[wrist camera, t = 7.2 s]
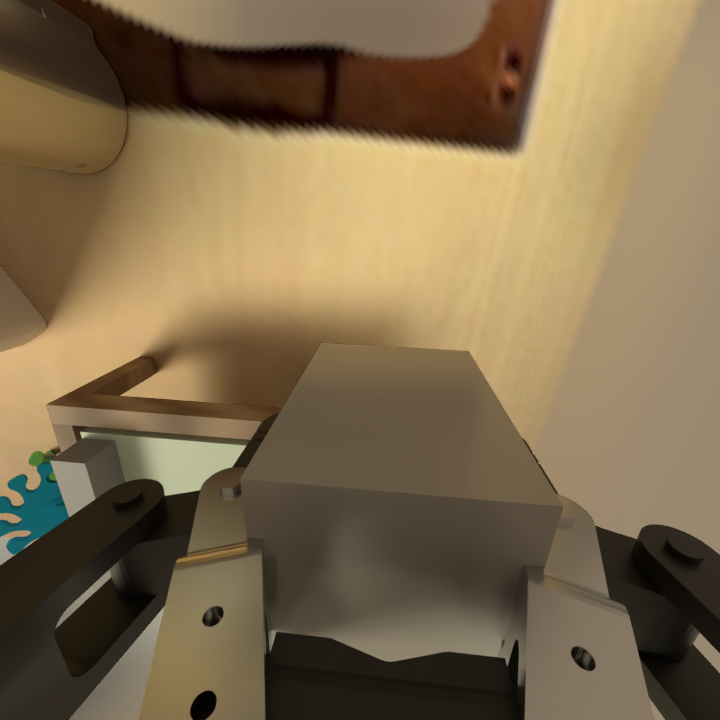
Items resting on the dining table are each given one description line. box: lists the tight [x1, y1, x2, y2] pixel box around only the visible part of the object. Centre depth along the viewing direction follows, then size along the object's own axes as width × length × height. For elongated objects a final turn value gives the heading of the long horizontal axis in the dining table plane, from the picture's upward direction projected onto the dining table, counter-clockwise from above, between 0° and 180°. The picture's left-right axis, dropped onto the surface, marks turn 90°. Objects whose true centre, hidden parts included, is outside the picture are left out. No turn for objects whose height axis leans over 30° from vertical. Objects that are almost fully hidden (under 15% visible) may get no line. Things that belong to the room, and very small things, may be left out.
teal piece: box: [0, 451, 69, 554], centre depth 37 cm, size 11×6×10 cm
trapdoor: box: [50, 427, 251, 592], centre depth 26 cm, size 14×14×4 cm
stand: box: [46, 357, 282, 453], centre depth 31 cm, size 18×18×10 cm
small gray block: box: [240, 343, 564, 662], centre depth 10 cm, size 5×5×7 cm
